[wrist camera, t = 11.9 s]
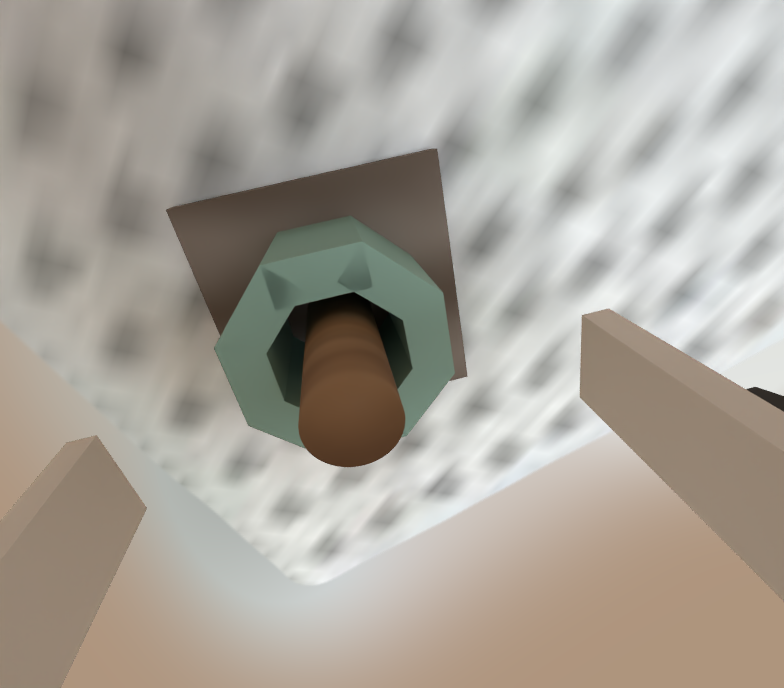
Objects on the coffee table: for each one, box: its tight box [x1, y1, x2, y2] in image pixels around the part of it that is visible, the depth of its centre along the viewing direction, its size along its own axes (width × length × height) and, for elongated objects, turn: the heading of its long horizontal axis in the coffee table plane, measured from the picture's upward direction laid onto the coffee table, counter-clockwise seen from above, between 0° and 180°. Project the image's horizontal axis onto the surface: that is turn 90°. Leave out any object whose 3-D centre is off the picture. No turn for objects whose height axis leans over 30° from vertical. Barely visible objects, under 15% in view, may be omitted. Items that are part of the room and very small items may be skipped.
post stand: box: [166, 149, 467, 467], centre depth 16 cm, size 12×12×11 cm
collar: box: [214, 216, 455, 449], centre depth 18 cm, size 8×8×6 cm
